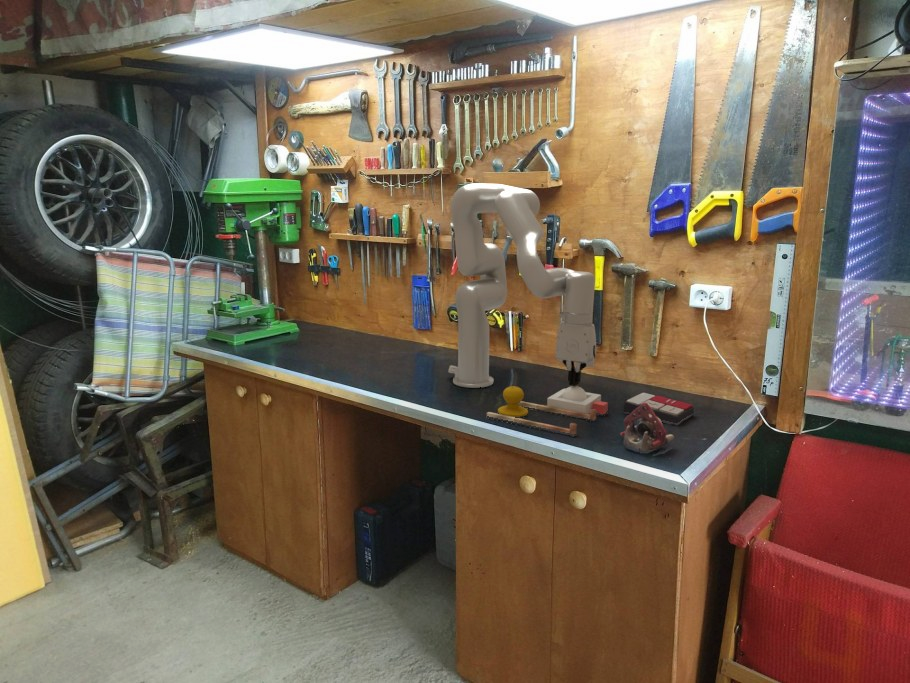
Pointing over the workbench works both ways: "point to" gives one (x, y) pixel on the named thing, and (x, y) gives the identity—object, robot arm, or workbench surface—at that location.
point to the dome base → (578, 403)
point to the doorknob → (513, 402)
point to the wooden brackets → (542, 425)
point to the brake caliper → (644, 430)
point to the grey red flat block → (660, 407)
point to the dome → (574, 394)
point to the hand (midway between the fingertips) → (573, 384)
